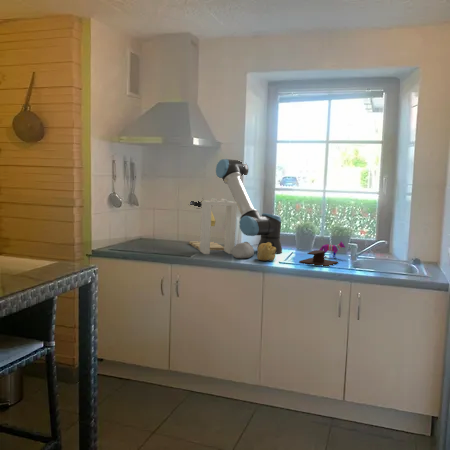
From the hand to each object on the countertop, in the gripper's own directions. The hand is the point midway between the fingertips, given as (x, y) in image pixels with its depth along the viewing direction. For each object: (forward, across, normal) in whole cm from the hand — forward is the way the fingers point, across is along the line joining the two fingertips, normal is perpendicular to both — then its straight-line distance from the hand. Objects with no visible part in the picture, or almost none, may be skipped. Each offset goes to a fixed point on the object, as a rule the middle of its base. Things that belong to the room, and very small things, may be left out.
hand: (207, 205), depth 298 cm
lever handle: (+60, -46, -26) cm, 80 cm away
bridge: (+24, 0, -26) cm, 35 cm away
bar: (+1, 0, -6) cm, 6 cm away
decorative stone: (+39, -11, -26) cm, 48 cm away
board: (+3, 0, -26) cm, 26 cm away
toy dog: (+43, -64, -26) cm, 81 cm away
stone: (+49, -21, -26) cm, 59 cm away
